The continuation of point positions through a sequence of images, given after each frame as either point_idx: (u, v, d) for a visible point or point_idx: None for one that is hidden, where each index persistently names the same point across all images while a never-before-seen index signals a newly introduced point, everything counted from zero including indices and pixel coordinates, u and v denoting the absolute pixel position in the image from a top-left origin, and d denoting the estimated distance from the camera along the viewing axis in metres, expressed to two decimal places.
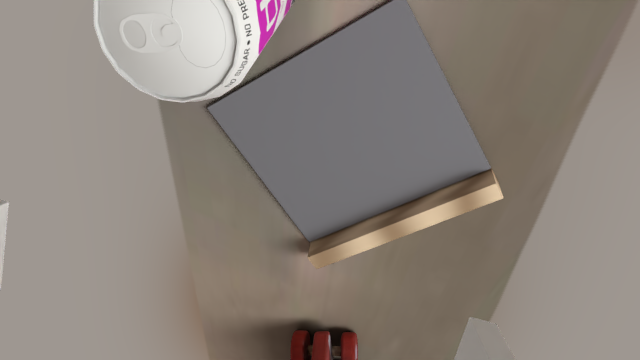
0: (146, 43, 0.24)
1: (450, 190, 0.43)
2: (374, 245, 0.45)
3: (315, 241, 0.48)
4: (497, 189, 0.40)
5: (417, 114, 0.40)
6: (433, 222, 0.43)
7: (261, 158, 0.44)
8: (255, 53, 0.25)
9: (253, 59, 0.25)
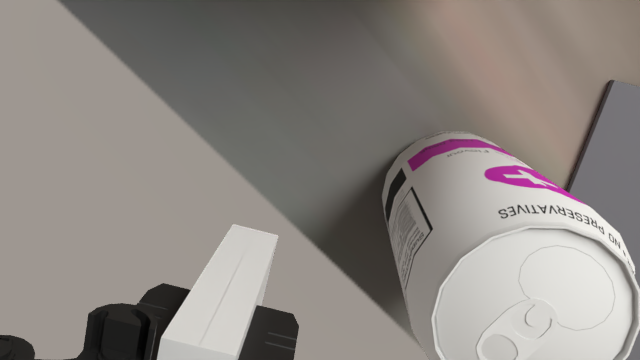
0: (517, 350, 0.18)
1: None
2: None
3: None
4: None
5: None
6: None
7: None
8: (629, 257, 0.18)
9: (633, 266, 0.18)
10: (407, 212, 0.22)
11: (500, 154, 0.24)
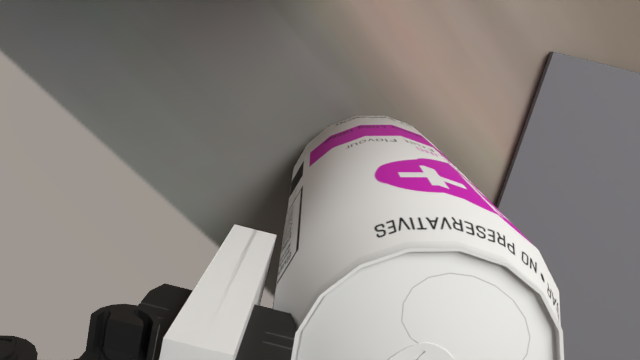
0: None
1: None
2: None
3: None
4: None
5: None
6: None
7: None
8: (552, 280, 0.14)
9: (557, 290, 0.14)
10: (290, 220, 0.18)
11: (410, 144, 0.20)
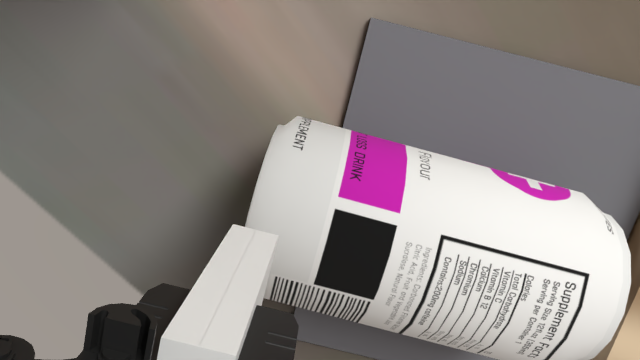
0: None
1: None
2: None
3: None
4: None
5: (522, 124, 0.25)
6: None
7: (398, 343, 0.29)
8: None
9: None
10: (484, 268, 0.19)
11: None
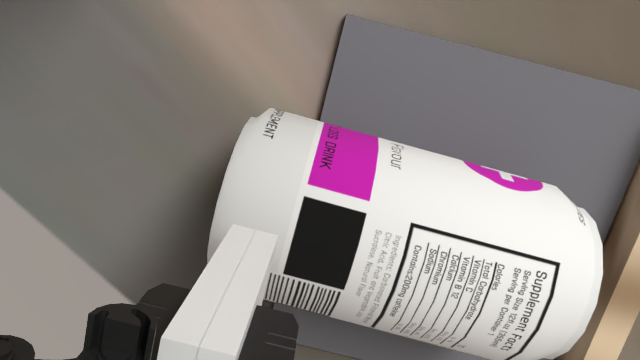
0: None
1: None
2: (624, 334, 0.25)
3: None
4: None
5: (499, 122, 0.25)
6: None
7: (376, 342, 0.28)
8: None
9: None
10: (454, 257, 0.19)
11: (403, 144, 0.22)
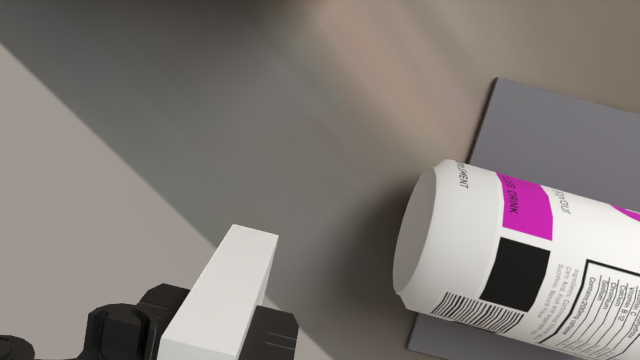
0: None
1: None
2: None
3: None
4: None
5: (624, 168, 0.30)
6: None
7: (504, 356, 0.33)
8: None
9: None
10: (622, 287, 0.23)
11: (559, 190, 0.26)
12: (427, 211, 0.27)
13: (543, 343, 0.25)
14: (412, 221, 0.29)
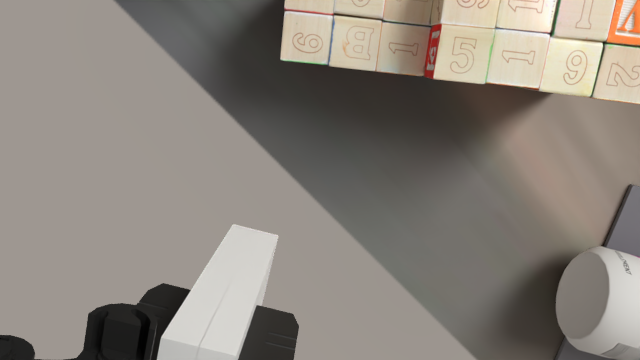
0: None
1: None
2: None
3: None
4: None
5: None
6: None
7: None
8: None
9: None
10: None
11: None
12: (588, 281, 0.40)
13: None
14: (571, 285, 0.42)
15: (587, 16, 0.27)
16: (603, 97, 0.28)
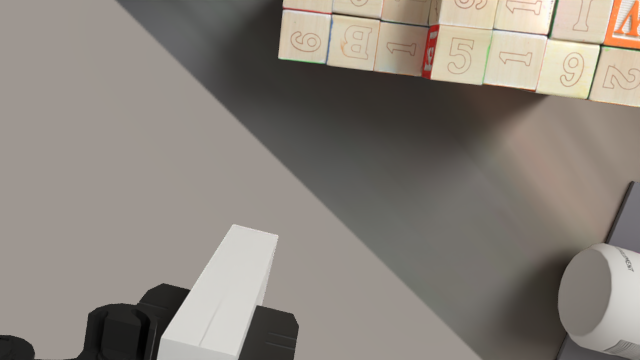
0: None
1: None
2: None
3: None
4: None
5: None
6: None
7: None
8: None
9: None
10: None
11: None
12: (590, 278, 0.40)
13: None
14: (573, 282, 0.42)
15: (584, 18, 0.27)
16: (599, 99, 0.28)
